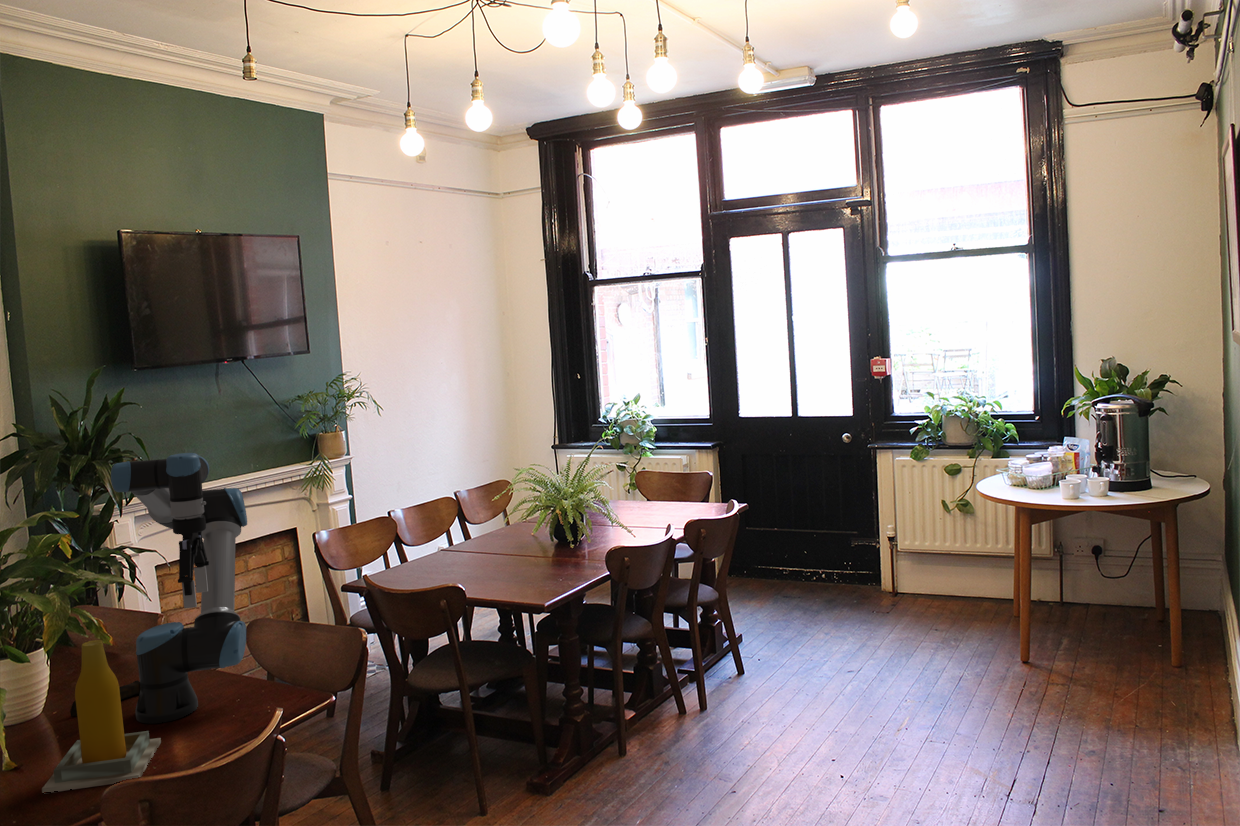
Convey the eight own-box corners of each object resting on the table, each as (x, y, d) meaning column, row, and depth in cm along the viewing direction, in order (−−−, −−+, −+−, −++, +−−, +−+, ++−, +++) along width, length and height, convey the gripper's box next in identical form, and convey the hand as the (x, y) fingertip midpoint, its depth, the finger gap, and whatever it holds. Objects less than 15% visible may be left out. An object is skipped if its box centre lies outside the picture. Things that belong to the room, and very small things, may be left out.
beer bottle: (79, 761, 225) (66, 643, 222) (122, 748, 230) (110, 633, 227) (86, 775, 217) (72, 653, 214) (130, 762, 223) (117, 642, 220)
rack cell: (72, 754, 231) (71, 737, 231) (161, 742, 236) (159, 726, 235) (42, 793, 212) (40, 775, 212) (139, 779, 216) (137, 762, 216)
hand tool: (137, 692, 271) (135, 676, 270) (144, 694, 268) (142, 679, 268) (67, 716, 256) (65, 700, 255) (73, 719, 253) (71, 703, 253)
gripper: (193, 524, 223) (202, 612, 225) (214, 505, 247) (222, 584, 249) (159, 528, 221) (168, 616, 224) (183, 507, 246) (191, 587, 248)
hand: (196, 599), depth 236 cm, fingers open, 13 cm apart
